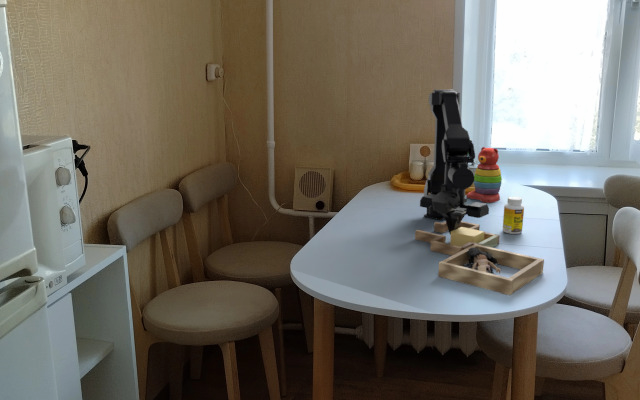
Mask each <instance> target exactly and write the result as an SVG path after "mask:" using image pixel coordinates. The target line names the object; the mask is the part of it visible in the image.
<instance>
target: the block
mask: <svg viewBox="0 0 640 400" xmlns="http://www.w3.org/2000/svg"><path fill="white" fill-rule="evenodd" d="M484 232H485V231H483V230H480V229H479V230H474V229H470V228H465V227H460V228H458V229H456V230H453V231H451V235H450V240H449V241H450V242H449V244H451V245H455V246H459V247H461V246H463V245H465V244H467V243H469V242H475V243H480V242H482V241H484Z"/></svg>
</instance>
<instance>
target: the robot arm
mask: <svg viewBox="0 0 640 400" xmlns="http://www.w3.org/2000/svg"><path fill="white" fill-rule="evenodd" d="M460 94H461V93H460V92H458V91H457V92H456V91H455V90H454V89H433V90H432V92H430V93H428V105H429V106H430V111H431V113H432V115H433V117H434V119H435V120H434V124H435V126H434V146H433V147H434V148H433V150H434V151H433V166H432V167H431V168H430V170H429V172H428V175H427V179H426V181H425V184H424V188H423V196H422V197H420V199H419V207H421V208H424V209H425V208H426V214H423V217H425V218H429V219H434V220H440V221H441V220H442V221H443V220H444V222H445V221H446V224H447V227H448V233H449V235H450V236H451V231H453V230H456V229H457V228H458V226H459V224H460V222H461V221H463V219H464V217H465V216H466V215H467V216H468V217H472V218H477V219H481V218H482V217H485V216H487V215H489V214H490V207H489V205H488V203H485V202H477V201H475V202H472V203H469V204H467V202H468V198H467V197H466V189H469V188H470V187H471V186H472V185H474V175H475V174H474V173H473V171H472V170H471V169H470V168H469V164H474V163H475V159H476V153H475V151H476V150H475V146H474V143H473V140H472V139H471V138H470V135H469V131H468V130H467V129H465V128H464V127H463V123H462V118H461V112H460V106H459V105H460V104H461V103H460V102H461V101H460V100H461V95H460Z"/></svg>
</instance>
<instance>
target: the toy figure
mask: <svg viewBox="0 0 640 400" xmlns="http://www.w3.org/2000/svg"><path fill="white" fill-rule="evenodd" d="M467 255H468V256H469V257H470V259H469V260H468V261H469V262H468V264H469V266H470V267H471V269H475V270H479V271H483V272H487V273H491V274H494V270H495V273H497V274H498V273H499V274H501V268H500V267H497V265H498V264H497V260H496V259H495V258H494V257H493V256H492V254H490V253H489V252H482V251H480V250H479V248H470V249H469V250H468V254H467ZM493 269H494V270H493Z"/></svg>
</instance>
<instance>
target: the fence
mask: <svg viewBox="0 0 640 400" xmlns="http://www.w3.org/2000/svg"><path fill="white" fill-rule="evenodd" d="M470 248H479V250H480V251H482V252H489V253H490V254H492V256H493V257H494V258H495V259H496V260H497V264H496V265H501V266H504V267H510V268H513V269H517V270H518V269H519V271H517V272H515V273H514V274H513V275H511V276H509V277H505V276H502V275H499V274H498V275H497V274H496V273H495V274H494V273H489V272H483V271H479V270H478V269H472V267H471V268H470V267H466V266H467V264H469V263H468V262H469V261H468V260H469V259H470V257H469V256H468V255H467V254H468V250H469V249H470ZM544 264H545V259H543V258H540V257H535V256H531V255H526V254H522V253H519V252H518V253H517V252H513V251H508V250H505V249H504V250H503V249H500V248H495V247H492V248H491V247H487V246H482V245H478V244H474V245H472V246H470V247H468V248H466V249H464V250H462V251H461V252H459V253H457V254H455V255H453V256H452V255H450V256H449V257H448V258H447V257H446V258H445V259H443V260H442V261H439V262H438V274H437V275H438V276H437V277H440V278H443V279H447V280H451V281H454V282H458V283H462V284H466V285H468V286H473V287H478V288H481V289H485V290H489V291H491V292H496V293H500V294H504V295H508V296H512V295H513V294H514V293H516V292H518V291H519V290H520V289H521V288H523V287H524V286H526V285H527V284H529V283H531V282H532V281H533V280H535V279H536V278H538V277H539V276H541V275H542V274H543V273H544Z"/></svg>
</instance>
